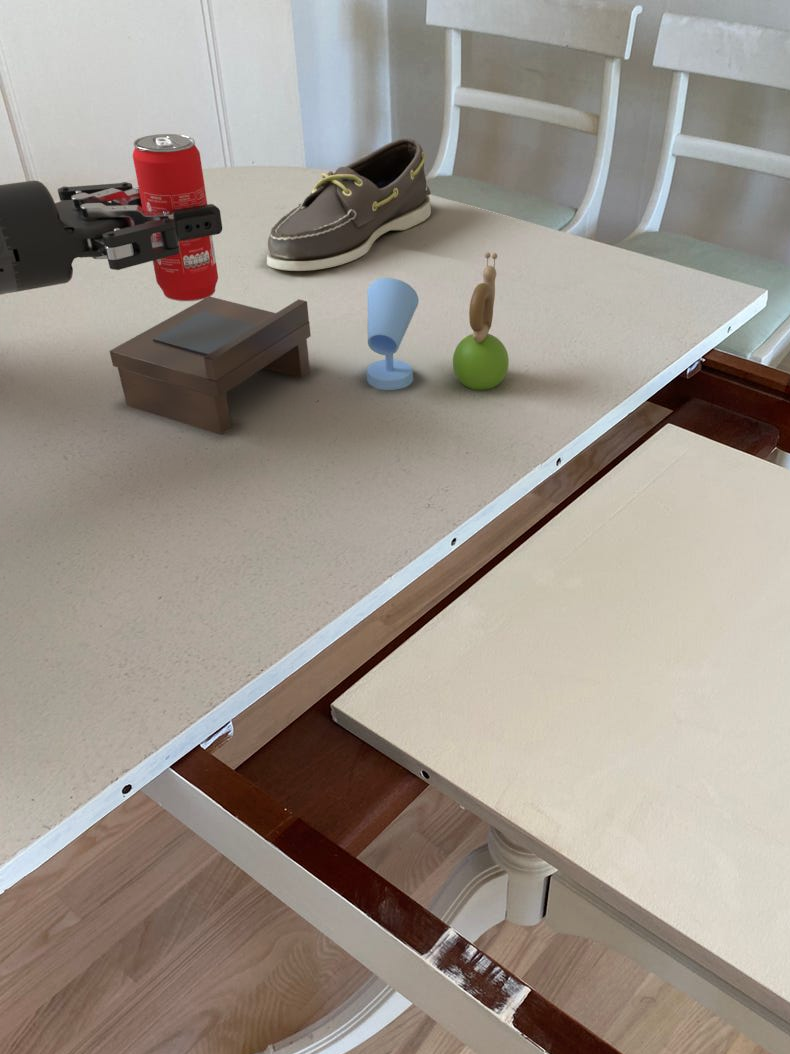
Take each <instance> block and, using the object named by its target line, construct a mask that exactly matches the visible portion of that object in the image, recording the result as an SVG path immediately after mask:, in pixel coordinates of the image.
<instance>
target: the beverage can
mask: <svg viewBox="0 0 790 1054" xmlns="http://www.w3.org/2000/svg"><path fill="white" fill-rule="evenodd" d="M133 147H134V149H133V152H132V161H133V165H134V170H135V171H134V172H135V176H136V180H137V187H139V192H140V197H141V203H142V208H143V209H144V210H145V211H164V210H169V211H172V210H175V209H183V208H189V207H195V206H201V205H208V199H207V193H206V186H205V180H204V179H205V178H204V172H203V166H202V160H201V159H202V158H201V152H200V150H199V149H198V147H197V146H196V140H195V139H194V138H192V137H191V136H188V135H183V134H174V133H161V134H151V135H146V136H145V135H144V136H141V137H140V138H137V139H135V140H134V141H133ZM147 223H148V222H147ZM151 236H152V237H153V236H161V234H160V232H158V233H154V234H152V235H151ZM179 243H180V244H179V249H180V253H179V254H176V255H172V256H168V257H165V258H161V259H157V260H154V261H152V265H153V271H154V274H155V275H154V276H155V280H156V283H157V285H158V286H159V288H160V289H161V291H162V293H163V295H164V297H165V298H166V299H169V300H171V301H176V302H197V301H201V300H203V299H205V298H208V297H213V295H214V294H215V293H216V286H217V283H218V280H219V274H218V266H217V260H216V253H215V247H214V240H213V235H211V236H205V237H199V238H193V239H187V240H181V241H180V240H179ZM153 248H156V247H153Z"/></svg>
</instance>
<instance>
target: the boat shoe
mask: <svg viewBox="0 0 790 1054" xmlns="http://www.w3.org/2000/svg"><path fill="white" fill-rule="evenodd" d="M425 162H426V156H425V153H424V150H423V148H422V146H421V144H420V143H419V142H418V141H416V140H415V139H414V138H411V137H403V138H399V139H396V140H394V141H391V142H388V143H387V144H385V145H383V146H381V147H379V148H377V149H374V151H372V152H370V153H368V154H366V155H364V156H362V157H360V158H359V159H357V160H355V161H353V162H351V163H349V164H348V165H346V166H340V167H338V168H337V169H336V170H335V172H333V171H331V170H330V171H328V172H327V173H325V172H321V176H322V179H321V180H319V181H317V182H316V184H314V186H313V189H312V191H311V192H310V194H308V196H306V197H305V198H304V199H303V202H302V203H299V204H298V206H297V207H295V208H293V209H292V210H291V211H289V212H288V213H286V214H285V215H284V216H282V217H281V218H280V219H279V220H278V221H277V222H276V223H275V224H274V225H273V227H271V229H270V234H269V236H268V239H267V248H268V251H269V252H268V254H267V255H266V265H267V266H268V267H270V268H272V269H276V270H280V271H290V272H291V271H292V272H293V271H294V272H302V271H303V272H304V271H305V272H306V271H316V270H324V269H329V268H333V267H337V266H341V265H345V264H347V263H348V264H349V263H350V262H352V261H355V260H357V259H359V258H361V257H363V256H365V255H366V254H367V253H368V252H370V249H371V247H372V245H373V244H374V243H375V241H376V240H378V238H380V237H382V235H384V234H386V233H388V232H389V231H406V230H408V229H410V228H413V227H415V226H417V225H419V224H421V223H423V222H425V221H426V220H428V219H429V217H430V216H431V214H432V211H431V210H432V209H431V208H432V207H431V198H430V195H431V193H432V192H431V190H430V187H429V186H428V185H427V178H426V174H425Z"/></svg>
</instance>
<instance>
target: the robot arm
mask: <svg viewBox="0 0 790 1054" xmlns="http://www.w3.org/2000/svg"><path fill="white" fill-rule="evenodd" d="M57 195H58V197H59V201H58V202H55V200H54V198H53V195H52V194H51V191H49V189H48V188H47V186H46V185H45V184H44V183H43V182H41V181H39V180H35V179H33V180H28V181H27V180H26V181H22V182H21V181H19V182H13V183H5V184H4V183H3V184H0V296H2V295H8V294H13V293H19V292H22V291H23V292H24V291H31V290H35V289H41V288H45V287H52V286H58V285H63V284H68V283H69V282H71V280H72V279H73V274H74V268H73V261H74V260H75V259H77V258H80V259H83V258H92V259H93V260H107V261H108V268H109V269H110V270H114V271H121V270H123V269H128V268H131V267H134V266H138V265H142V264H146V263H151V262H153V261H154V260H157V259H161V258H165V257H168V256H172V255H176V254H179V253H180V249H179V244H180V243H179V240H180V241H181V240H187V239H193V238H199V237H205V236H211V235H212V236H216V235H217V236H218V235H220V234H221V233H222V231H223V223H222V214H221V210H220V209H219V207H217V206H216V205H215V204H213V203H207V205H201V206H195V207H189V208H183V209H175V210H172V211H169V210H164V211H145V210H144V209H143V208H142V203H141V197H140V192H139V187H138V186H136V187H133V184H132V183H131V182H127V181H123V182H117V183H115V182H114V183H103V184H91V185H90V184H89V185H88V184H87V185H77V186H76V185H75V186H61V187H59V188H57ZM147 222H148V223H147ZM158 232H160V234H161V236H153V237H152V236H151V235H152V234H154V233H158ZM153 247H156V248H153Z"/></svg>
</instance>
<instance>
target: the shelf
mask: <svg viewBox="0 0 790 1054" xmlns="http://www.w3.org/2000/svg"><path fill="white" fill-rule="evenodd" d="M310 337H311V324H310V317H309V307H308V301H307V300H304V299H296V300H295V301H294V302H292V303H290V304H288V305H287V306H285V307H283V308H281V309H280V310H279V311H277V312H272V311H269V310H265V309H261V308H258V307H253V306H250V305H246V304H241V303H237V302H234V301H229V300H226V299H221V298H218V297H213V296H210V297H208V298H205V299H202V300H198V302H195V303H194V304H192V305H190V306H188V307H187V308H185V309H183V310H182V311H179V312H177V313H176V314H174V315H172V316H169V317H168V318H167V319H164V320H163V321H161V322H159V323H157V324H155V325H154V326H152V327H149V328H148V329H146V330H145V331H143V332H141V333H139V334H138V335H135V336H134V337H132V338H130V339H129V340H126V341H125V342H123V343H120V344H119V345H118V346H116V347H113V348H112V349H110V350H109V355H110V360H111V363H112V367H114V368H117V371H118V375H119V379H120V380H119V381H120V384H121V388H122V392H123V396H124V400H125V404H126V406H127V407H130V408H132V409H135V410H139V411H142V412H146V413H149V414H153V415H155V416H159V417H162V418H165V419H168V420H171V421H175V422H178V423H181V424H184V425H188V426H190V427H194V428H198V429H201V430H204V431H206V432H210V433H212V434H213V433H214V434H217V435H220V436H223V434H225V433H227V432H228V431H229V430H231V429H232V423H231V422H232V421H231V417H230V410H229V404H228V399H227V393H228V392H229V391H231V390H233V389H234V388H235V387H237V386H238V385H240V384H241V383H243V382H244V381H246V380H247V379H249V378H251V377H252V376H253V375H255V374H256V373H258V372H259V371H261V370H262V369H267V370H271V371H274V372H278V373H281V374H285V375H289V376H292V377H295V378H299V379H303V378H304V377H306V376H307V375H309V374H310V373H311V367H310V358H309V349H308V339H309V338H310Z"/></svg>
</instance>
